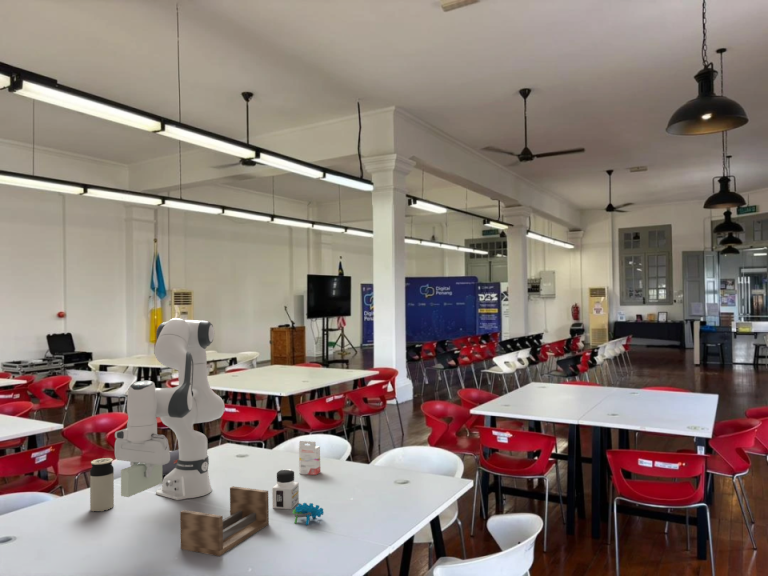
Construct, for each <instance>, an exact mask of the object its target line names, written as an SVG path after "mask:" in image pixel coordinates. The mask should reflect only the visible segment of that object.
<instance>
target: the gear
mask: <svg viewBox="0 0 768 576" xmlns="http://www.w3.org/2000/svg"><path fill="white" fill-rule="evenodd" d="M292 514H293V515H294V519H295V520H294V524H297V522H298V518H306V521H305V526H309V524H310V519H311V517H312V519H316V518H317V517H318V518H321V517H322V516H323V515H324V508H322V507H320V505H319V504H315V506H314V504H313V503H311V502H310V503H309V504H307V502H303V503H302V504H301V503H297V505H295V508H294V509H293V508H292Z"/></svg>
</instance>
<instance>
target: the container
mask: <svg viewBox="0 0 768 576" xmlns="http://www.w3.org/2000/svg"><path fill="white" fill-rule="evenodd" d="M299 490H300V489H299V482H298V481H295V471H294V470H293V469H290V468H289V469H287V468H286V469H281V470H279V471H277V472H276V484H275V485H274V486H272V489H271V491H272V492H271V493H272V508H273V509H279V510H280V509H282V510H293V508H294V507H296V506H297V505H298V504H299V501H300V493H299V492H300V491H299Z"/></svg>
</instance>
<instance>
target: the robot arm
mask: <svg viewBox="0 0 768 576" xmlns="http://www.w3.org/2000/svg"><path fill="white" fill-rule="evenodd" d="M155 337H156V342H155V345H154V350H153V351H154V356H155V359H156V360H157V361H158V362H159V363H160V364H162V365H163V366H165V367H166V368H170V369H174V370H176V371H178V374H177V375H178V376H177V377H178V385H177V386H174V387H156V385H155V382H154V381H151V380H139V381H136V382H133V383H132V384H130V385H129V388H128V391H127V399H126V413H127V416H128V420H127V422H126V423H127V424H126V427H125V428H123V429H121V430H117V431H115V433H114V438H115V442H114V457H115V459H116V460H117V461H121V462H130V463H129V465H130V467H131V466H134V465H136V464H139V463H145V464H146V467H147V470H146V471H145V472H144V477H147V478H148V477H151V475H152V469H153V467H154V465H160V466H161V465H165V464H167V463H168V462H169V461H170V452H171V451H170V450H171V449H170V445H169V440H168V438H167V437H166V436H165V435H164V434H158V420H157V418H159V419H160V421H161V422H162V424H163V425H165V426H167V427H168V428H169V429H170V430H172V432H173V433H174V434H175V437H176V439H177V442H178V443H177V444H178V445H177V446H178V450H179V459H178V460H175V461H176V462H174V463H177V464H176V468H175V469H173V470H172V471H171V472H170V473H169V474H167V475H165V476H164V477H163V478H162V483H161V484H162V485H161V486H162V487H160V488H158V489H156V491H155V495H158V496H161V497H166V498H169V499H173V500H175V501H179V500H180V501H181V500H185V499H193V498H199V497H203V496H206V495H208V494H210V493H211V492H212V491H213V489H212V485H211V481H210V480H211V479H210V473H209V465H210V464H209V463H210V461H209V460H210V459H209V455H208V438H207V436H206V435H205V434H204V433H202V432H200V431H197V430H194V425H195V424H201V423H208V422H212V421H215V420H218V419H220V418H221V417H222V416H223V414H224V413H225V409H226V407H225V402H224V400H223V399H222V397H221V396H220V395H218V394H217V393H216V392H214V390H213V389H212V387H211V386H210V384H209V381H208V370H207V369H208V367H207V366H208V364H207V363H208V362H207V360H208V359H207V347H209V346H210V345H211V344H212V343H213V341H214V337H215V328H214V326H213V324H212V323H211V321H207V320H204V319H203V320H194V319H182V318H178V317H173V318H171V319H169V320H168V321H164V322H162V323H160V324H159V325H158V327H157V328H156V336H155Z"/></svg>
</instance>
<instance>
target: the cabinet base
mask: <svg viewBox="0 0 768 576" xmlns="http://www.w3.org/2000/svg"><path fill="white" fill-rule="evenodd" d="M269 506H270V504H269V490H264V489H256V488H249V487H241V486H240V487H239V486H231V487H229V510H230V511H229V514H230V515H229V516H227V517H225V518H224V517H223V515H219V514H213V513H205V512H200V511H193V510H187V509H183V510H181V511H180V513H179V515H180V516H179V517H180V523H179V524H180V527H179V528H180V550H184V551H188V552H189V551H190V552H195V553H200V554H206V555H212V556H216V557H221V556H222V555H223V554H226V553H227V552H228V551H230V550H231V549H233V548H234V547H236V546H238V545H239V544H241V543H242V542H243V541H246V540H247V539H248V538H250V537H252V536H253V535H254V534H257V533H258V532H259V531H260V530H262V529H264V528H266V527H267V526H268V525H269V524H270V519H269V516H270V515H269V514H270V513H269V511H270V510H269Z"/></svg>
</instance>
